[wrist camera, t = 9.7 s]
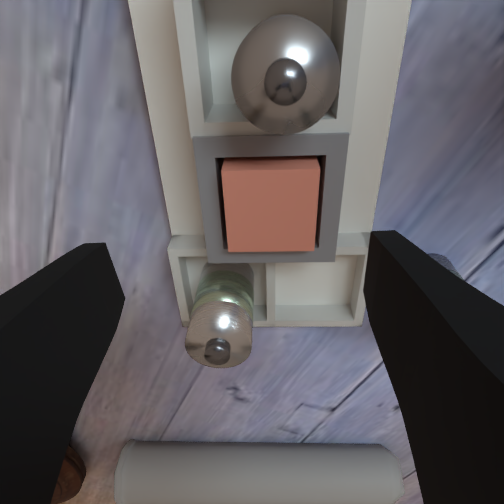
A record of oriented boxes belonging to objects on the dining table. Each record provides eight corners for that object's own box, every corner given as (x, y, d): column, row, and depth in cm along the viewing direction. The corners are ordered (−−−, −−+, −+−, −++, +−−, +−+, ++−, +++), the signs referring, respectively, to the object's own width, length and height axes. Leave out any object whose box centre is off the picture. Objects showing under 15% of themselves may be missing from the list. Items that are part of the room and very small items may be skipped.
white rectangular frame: (416, -70, 14) (465, -92, 10) (354, 302, 24) (369, 350, 21) (124, -55, 14) (80, -72, 11) (188, 303, 24) (176, 350, 21)
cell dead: (281, -9, 14) (283, -18, 9) (338, 55, 15) (368, 78, 10) (228, 62, 16) (204, 88, 11) (283, 115, 17) (286, 162, 12)
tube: (417, 477, 29) (109, 474, 30) (410, 527, 31) (117, 523, 32) (394, 428, 35) (131, 426, 35) (389, 473, 36) (137, 471, 37)
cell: (260, 261, 21) (259, 339, 16) (247, 301, 23) (243, 383, 18) (205, 249, 21) (187, 326, 16) (197, 291, 23) (178, 372, 18)
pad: (312, 143, 16) (320, 168, 14) (307, 217, 19) (314, 250, 16) (227, 145, 17) (221, 171, 14) (233, 218, 19) (228, 252, 16)
